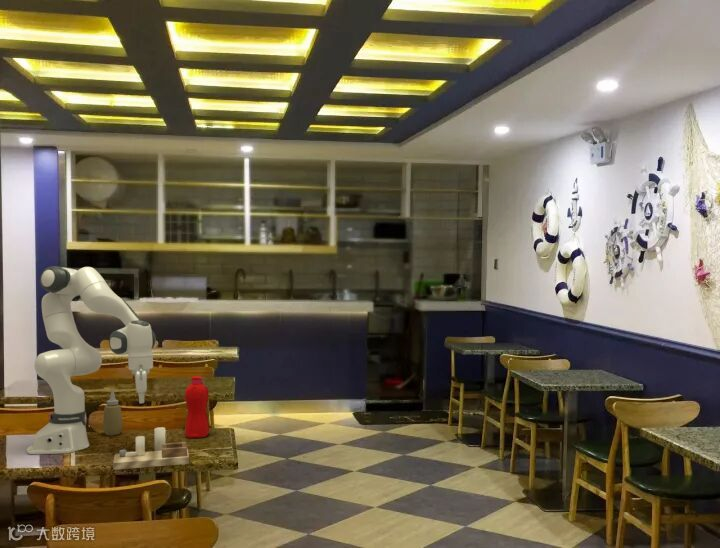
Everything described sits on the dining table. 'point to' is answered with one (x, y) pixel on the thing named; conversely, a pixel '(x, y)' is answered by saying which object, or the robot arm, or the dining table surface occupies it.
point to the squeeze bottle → (112, 417)
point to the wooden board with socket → (155, 457)
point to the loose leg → (159, 438)
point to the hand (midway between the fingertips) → (141, 400)
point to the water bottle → (196, 409)
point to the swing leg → (139, 448)
